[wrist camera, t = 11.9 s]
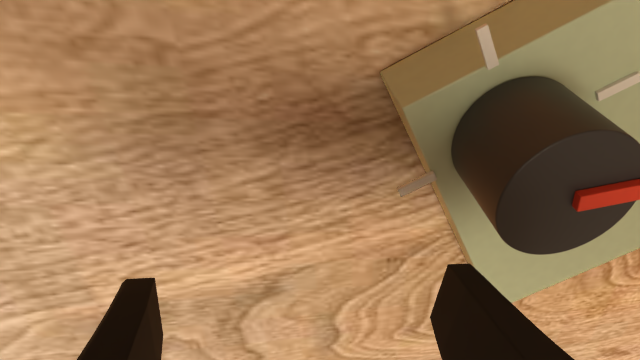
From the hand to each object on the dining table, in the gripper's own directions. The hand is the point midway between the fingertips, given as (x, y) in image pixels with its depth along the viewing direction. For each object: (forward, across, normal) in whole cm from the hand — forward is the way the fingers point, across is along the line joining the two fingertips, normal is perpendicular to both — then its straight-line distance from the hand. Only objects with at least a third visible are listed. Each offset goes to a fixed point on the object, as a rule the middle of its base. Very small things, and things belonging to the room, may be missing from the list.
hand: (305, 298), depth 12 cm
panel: (+8, -11, 0) cm, 14 cm away
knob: (+5, -8, -2) cm, 9 cm away
